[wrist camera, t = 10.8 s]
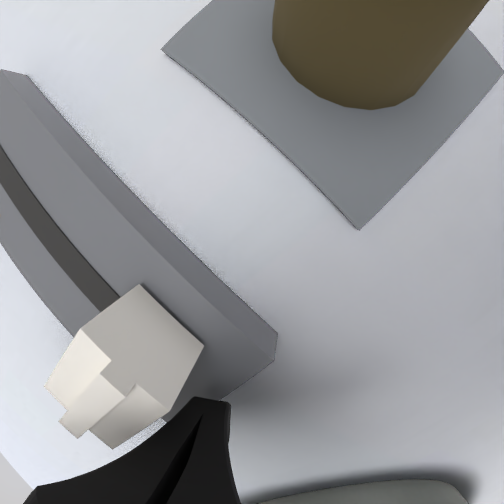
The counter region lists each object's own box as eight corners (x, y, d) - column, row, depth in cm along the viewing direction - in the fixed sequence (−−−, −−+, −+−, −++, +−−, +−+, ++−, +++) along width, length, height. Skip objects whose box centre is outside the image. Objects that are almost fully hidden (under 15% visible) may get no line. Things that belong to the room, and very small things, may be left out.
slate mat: (498, 74, 8) (504, 71, 8) (356, 228, 11) (358, 230, 10) (328, -70, 7) (329, -76, 7) (165, 53, 10) (160, 49, 10)
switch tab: (204, 345, 10) (161, 426, 6) (149, 392, 11) (104, 461, 7) (139, 283, 10) (66, 338, 6) (94, 340, 11) (33, 396, 7)
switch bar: (277, 333, 12) (274, 362, 10) (188, 401, 14) (174, 430, 12) (26, 75, 11) (-1, 69, 9) (-17, 164, 12) (-43, 166, 10)
